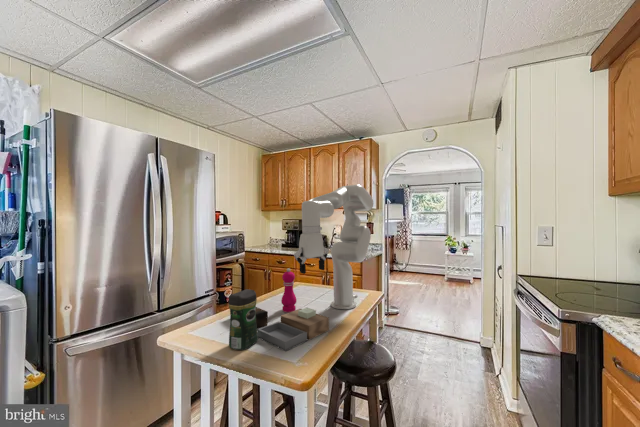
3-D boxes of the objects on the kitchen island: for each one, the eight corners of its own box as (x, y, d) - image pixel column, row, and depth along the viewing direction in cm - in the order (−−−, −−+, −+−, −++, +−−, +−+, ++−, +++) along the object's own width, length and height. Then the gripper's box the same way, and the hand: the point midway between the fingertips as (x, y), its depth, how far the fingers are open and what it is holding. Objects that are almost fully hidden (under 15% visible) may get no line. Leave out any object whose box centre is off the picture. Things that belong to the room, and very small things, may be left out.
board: (300, 320, 115) (300, 308, 115) (328, 330, 104) (328, 317, 104) (280, 328, 107) (280, 315, 107) (309, 339, 96) (308, 325, 96)
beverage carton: (246, 314, 124) (246, 300, 124) (268, 326, 110) (268, 310, 110) (229, 319, 118) (229, 304, 119) (251, 332, 105) (251, 315, 105)
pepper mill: (294, 313, 124) (293, 269, 125) (279, 312, 126) (278, 269, 126) (298, 308, 131) (297, 267, 132) (284, 307, 133) (283, 266, 133)
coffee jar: (244, 337, 99) (243, 286, 100) (261, 341, 96) (260, 288, 96) (224, 348, 91) (223, 293, 91) (242, 353, 87) (241, 295, 88)
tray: (278, 329, 106) (278, 321, 106) (307, 340, 95) (306, 332, 95) (257, 337, 99) (257, 329, 99) (285, 351, 88) (285, 342, 88)
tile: (307, 312, 110) (307, 307, 110) (315, 315, 107) (315, 310, 107) (298, 315, 107) (298, 310, 107) (307, 318, 103) (306, 313, 103)
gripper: (322, 229, 120) (323, 267, 120) (288, 231, 109) (290, 273, 109) (333, 229, 114) (334, 269, 114) (298, 232, 103) (300, 276, 103)
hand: (312, 271), depth 111 cm, fingers open, 9 cm apart
